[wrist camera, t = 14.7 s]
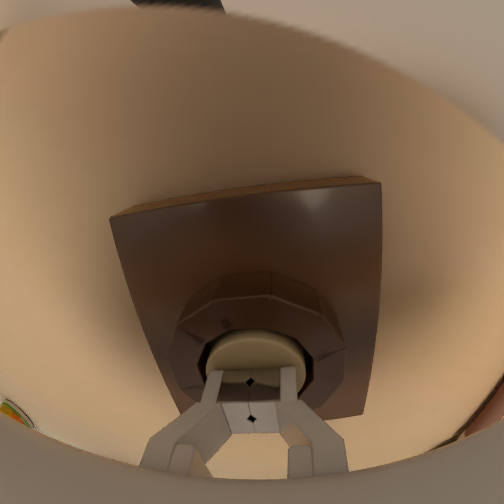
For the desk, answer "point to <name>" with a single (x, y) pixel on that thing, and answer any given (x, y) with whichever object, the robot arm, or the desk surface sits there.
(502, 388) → the manual can opener
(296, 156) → the desk surface
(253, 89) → the desk surface
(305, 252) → the control block
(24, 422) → the supplement bottle
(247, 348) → the button
